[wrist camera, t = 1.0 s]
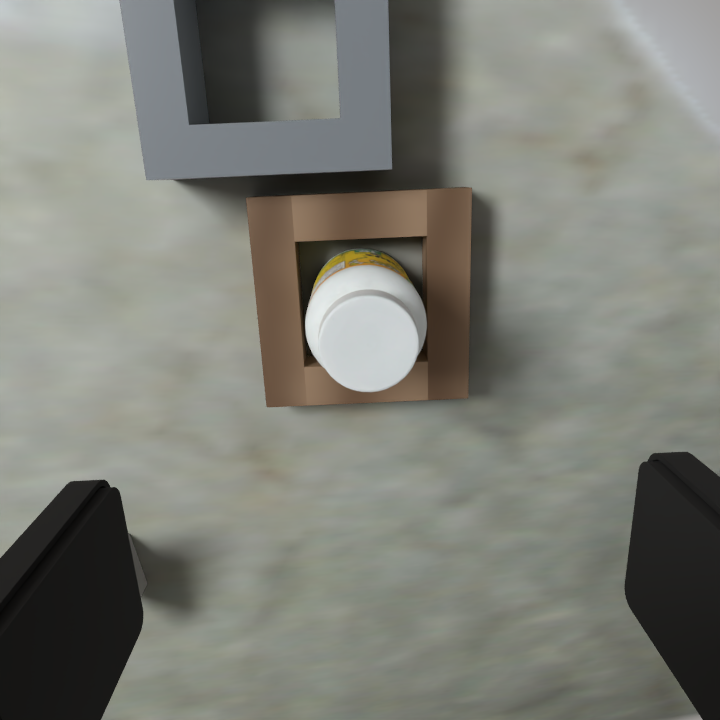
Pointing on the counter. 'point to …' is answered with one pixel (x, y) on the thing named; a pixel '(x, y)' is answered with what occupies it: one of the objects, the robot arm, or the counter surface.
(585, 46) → the counter surface
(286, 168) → the socket block
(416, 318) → the supplement bottle
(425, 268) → the shallow holder
